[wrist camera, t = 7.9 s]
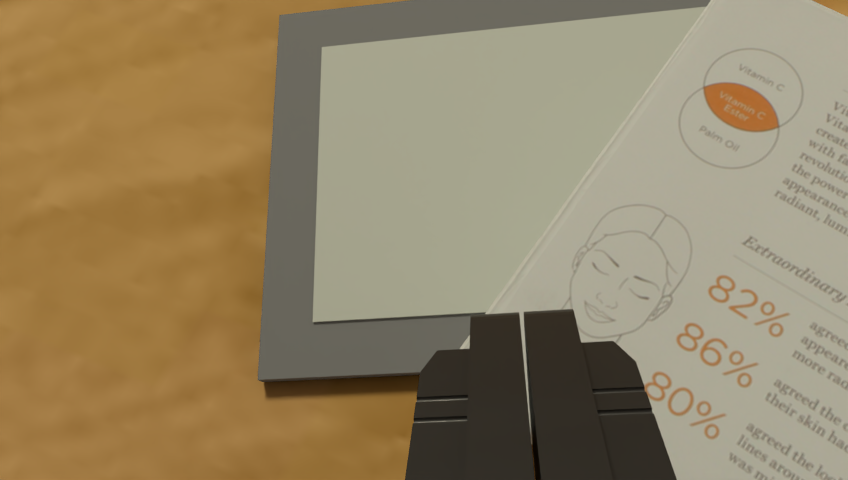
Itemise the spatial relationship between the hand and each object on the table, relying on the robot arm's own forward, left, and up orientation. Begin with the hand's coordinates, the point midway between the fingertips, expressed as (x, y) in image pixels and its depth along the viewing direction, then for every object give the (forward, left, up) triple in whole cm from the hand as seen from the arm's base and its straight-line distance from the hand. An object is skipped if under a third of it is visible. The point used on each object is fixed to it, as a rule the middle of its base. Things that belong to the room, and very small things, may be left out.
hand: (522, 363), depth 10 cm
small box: (+2, -2, -5) cm, 6 cm away
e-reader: (+1, +7, -8) cm, 11 cm away
